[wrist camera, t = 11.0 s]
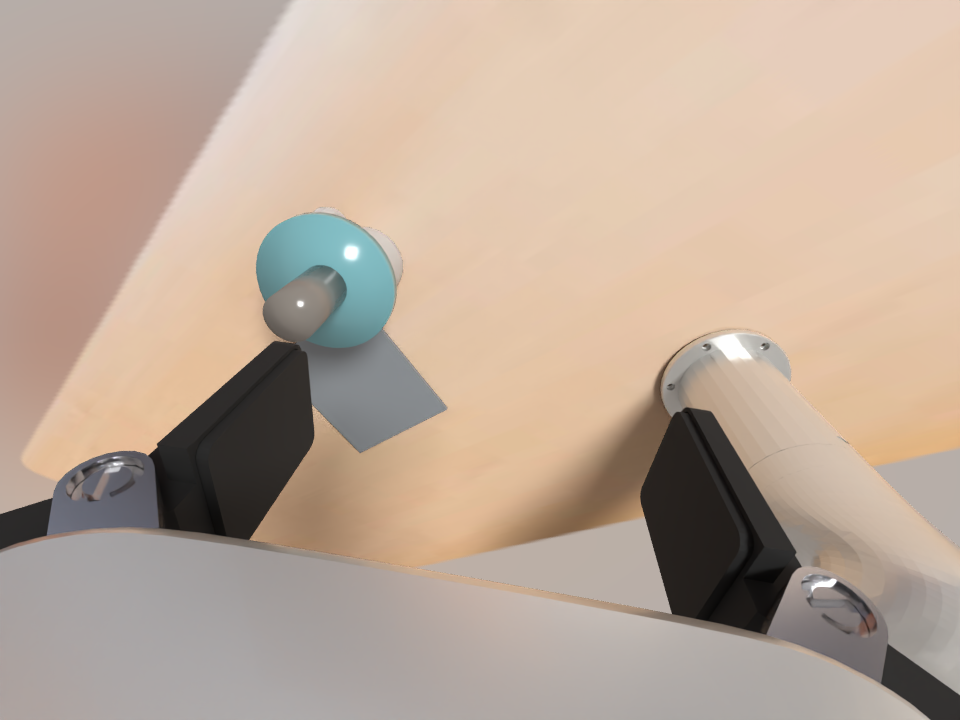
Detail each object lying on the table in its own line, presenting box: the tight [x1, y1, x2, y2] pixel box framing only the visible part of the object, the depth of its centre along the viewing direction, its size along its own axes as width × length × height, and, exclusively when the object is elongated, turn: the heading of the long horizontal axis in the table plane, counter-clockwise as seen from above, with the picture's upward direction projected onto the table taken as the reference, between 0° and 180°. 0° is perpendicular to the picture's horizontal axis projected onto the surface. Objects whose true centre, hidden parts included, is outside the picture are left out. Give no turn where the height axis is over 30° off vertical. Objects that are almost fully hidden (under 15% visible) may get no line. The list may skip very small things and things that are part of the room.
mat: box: [295, 329, 447, 453], centre depth 51 cm, size 16×14×1 cm
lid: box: [256, 212, 397, 348], centre depth 32 cm, size 11×11×7 cm
